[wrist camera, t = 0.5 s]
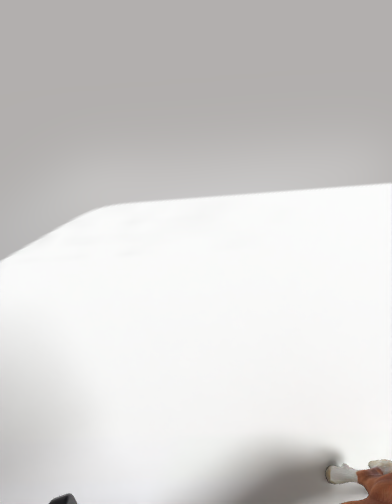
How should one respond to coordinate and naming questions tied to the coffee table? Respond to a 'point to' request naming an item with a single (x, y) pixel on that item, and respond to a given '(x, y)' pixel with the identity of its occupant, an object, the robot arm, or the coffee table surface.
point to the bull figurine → (366, 480)
